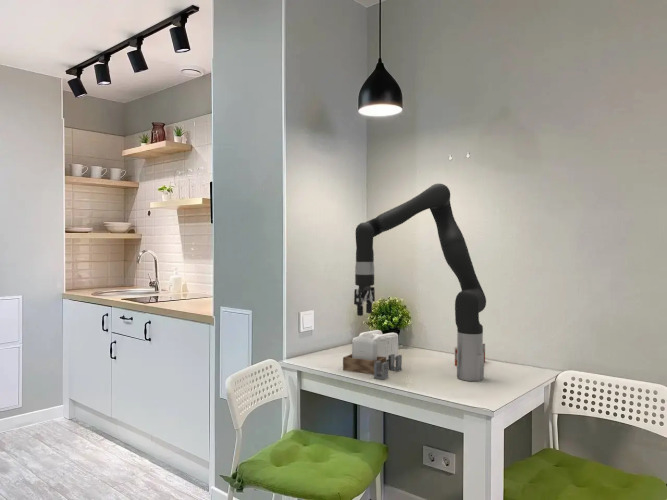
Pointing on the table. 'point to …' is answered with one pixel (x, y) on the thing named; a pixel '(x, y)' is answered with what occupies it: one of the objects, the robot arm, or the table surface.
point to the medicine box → (456, 354)
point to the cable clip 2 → (392, 362)
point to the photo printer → (364, 348)
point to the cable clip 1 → (378, 370)
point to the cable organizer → (384, 342)
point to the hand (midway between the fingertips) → (364, 314)
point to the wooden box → (360, 364)
